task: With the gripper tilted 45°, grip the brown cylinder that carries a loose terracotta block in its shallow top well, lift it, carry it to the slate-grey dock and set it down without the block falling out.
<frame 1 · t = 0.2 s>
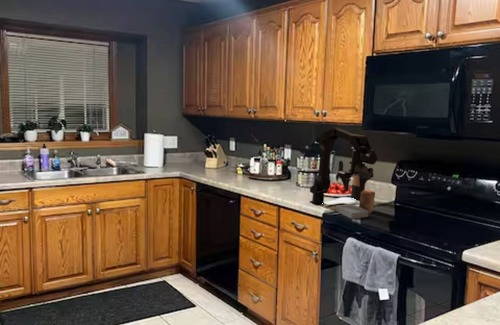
hand: (353, 191, 222), 15 cm above the countertop, tool pointing down, fingers open, 9 cm apart
travel mug: (356, 199, 264), on the countertop
cargo block: (367, 195, 239), point 8 cm above the countertop, touching brown cylinder
brown cylinder: (365, 211, 240), on the countertop, touching cargo block
dock: (352, 214, 233), on the countertop
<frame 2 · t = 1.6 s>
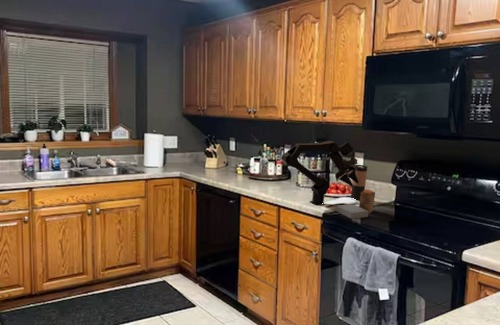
hand: (355, 184, 242), 13 cm above the countertop, tool tilted 45°, fingers open, 9 cm apart
nothing on the countertop moved.
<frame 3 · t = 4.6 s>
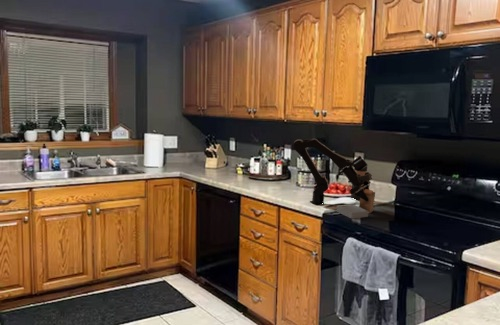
hand: (369, 199, 238), 7 cm above the countertop, tool tilted 45°, fingers closed on brown cylinder, 6 cm apart
brown cylinder: (365, 210, 240), on the countertop, touching cargo block, gripper
everything else where it was.
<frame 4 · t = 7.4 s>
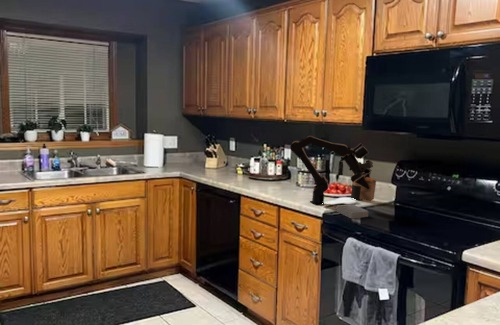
hand: (370, 187, 237), 13 cm above the countertop, tool tilted 45°, fingers closed on brown cylinder, 6 cm apart
cargo block: (368, 183, 237), point 15 cm above the countertop, touching brown cylinder
brown cylinder: (366, 198, 239), point 7 cm above the countertop, touching cargo block, gripper
everything else where it was.
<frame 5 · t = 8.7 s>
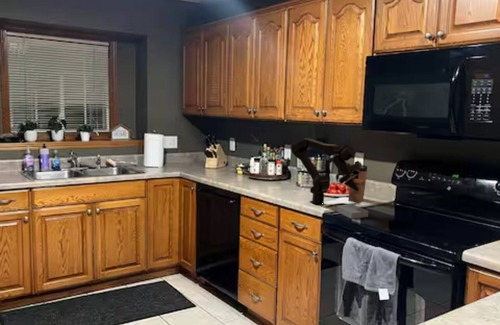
hand: (359, 189, 231), 13 cm above the countertop, tool tilted 45°, fingers closed on brown cylinder, 6 cm apart
cargo block: (357, 185, 231), point 15 cm above the countertop, touching brown cylinder
brown cylinder: (355, 201, 233), point 7 cm above the countertop, touching cargo block, gripper
everything else where it was.
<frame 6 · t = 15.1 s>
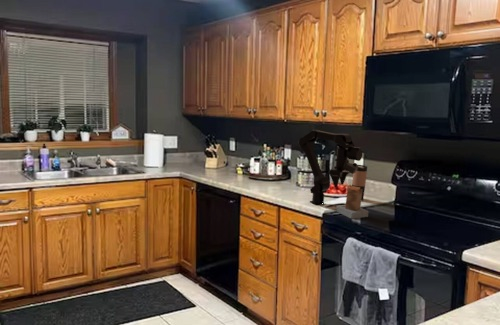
hand: (339, 185, 237), 13 cm above the countertop, tool pointing down, fingers open, 9 cm apart
cargo block: (354, 193, 231), point 11 cm above the countertop, touching brown cylinder
brown cylinder: (352, 208, 233), point 3 cm above the countertop, touching cargo block, dock
everything else where it was.
at the end: brown cylinder inside the target area on the dock (0.0 cm from its centre), point 3.0 cm above the dock's base; brown cylinder tilted 0°; cargo block 0.0 cm off-centre on the brown cylinder, point 8.5 cm above the brown cylinder's base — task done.
